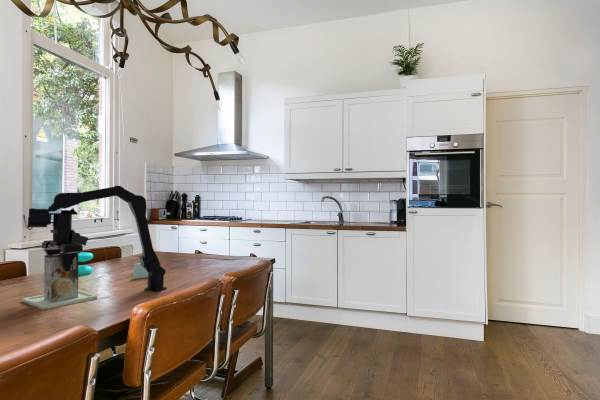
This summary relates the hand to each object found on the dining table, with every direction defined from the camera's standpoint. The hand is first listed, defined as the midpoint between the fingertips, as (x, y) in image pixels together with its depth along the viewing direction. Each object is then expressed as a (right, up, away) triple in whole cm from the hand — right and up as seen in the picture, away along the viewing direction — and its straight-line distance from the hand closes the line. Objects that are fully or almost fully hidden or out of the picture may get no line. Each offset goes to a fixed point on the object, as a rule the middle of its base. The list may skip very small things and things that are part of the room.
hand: (61, 269), depth 135 cm
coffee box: (0, -11, 0) cm, 11 cm away
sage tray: (0, -11, 0) cm, 11 cm away
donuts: (-20, -11, +46) cm, 51 cm away
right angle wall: (+9, -12, +46) cm, 48 cm away
